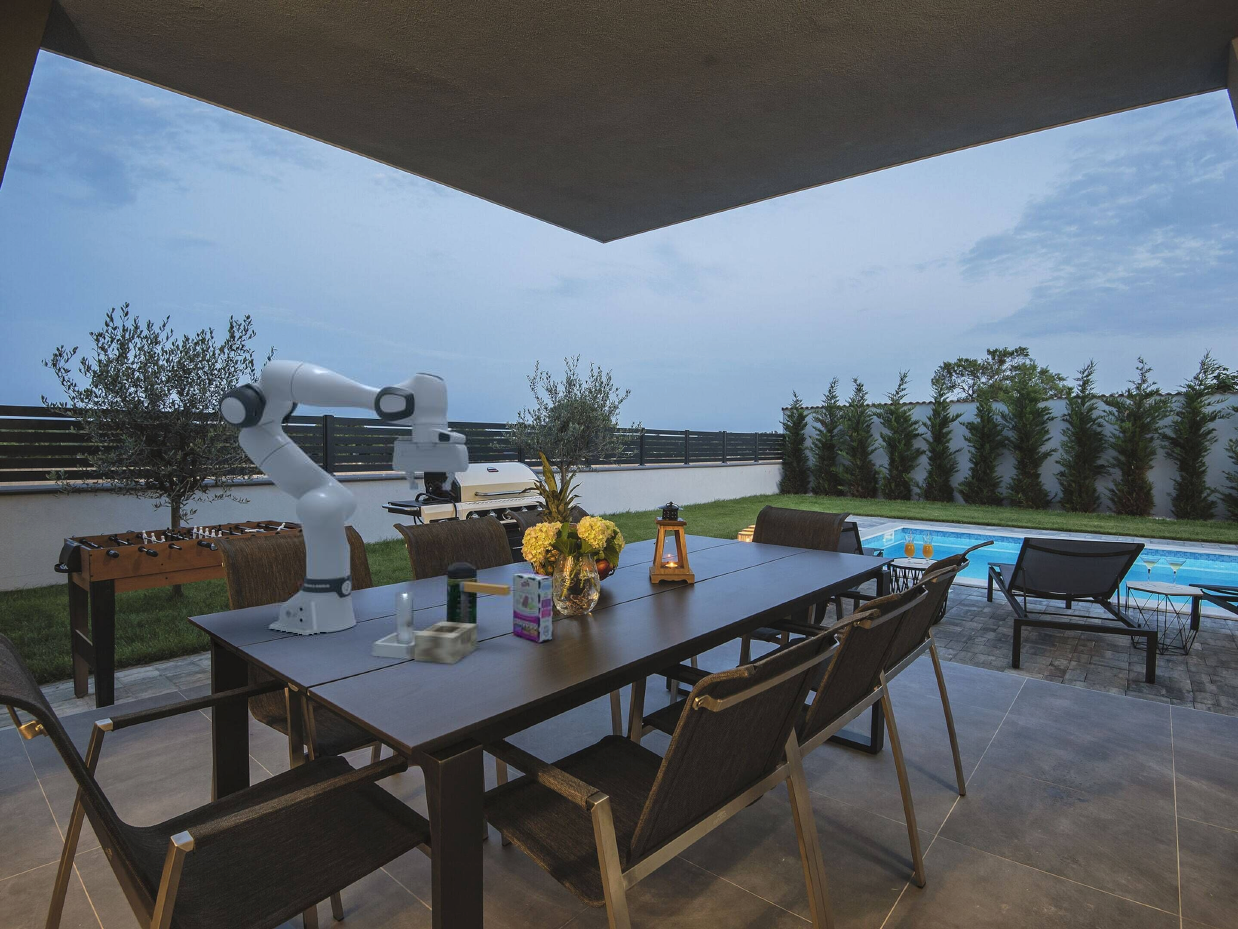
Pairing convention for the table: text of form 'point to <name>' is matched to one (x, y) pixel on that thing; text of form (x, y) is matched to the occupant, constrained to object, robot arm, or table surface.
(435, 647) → the block
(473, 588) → the bar
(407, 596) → the steel pin
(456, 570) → the coffee jar
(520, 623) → the candy bar box
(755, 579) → the table surface
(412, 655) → the tray
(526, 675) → the table surface
